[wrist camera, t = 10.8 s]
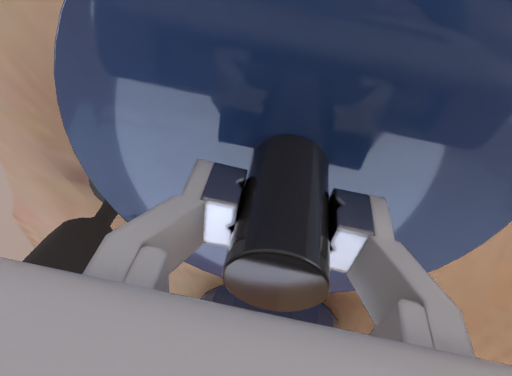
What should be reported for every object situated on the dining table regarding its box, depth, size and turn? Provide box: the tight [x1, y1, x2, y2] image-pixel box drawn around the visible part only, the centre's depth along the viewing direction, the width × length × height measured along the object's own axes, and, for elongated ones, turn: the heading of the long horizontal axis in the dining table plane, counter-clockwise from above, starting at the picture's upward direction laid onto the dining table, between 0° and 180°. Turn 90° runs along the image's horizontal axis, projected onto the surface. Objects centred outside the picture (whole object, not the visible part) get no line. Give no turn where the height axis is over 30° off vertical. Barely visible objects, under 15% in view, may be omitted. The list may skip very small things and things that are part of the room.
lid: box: [54, 0, 512, 312], centre depth 10 cm, size 16×16×6 cm
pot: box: [201, 285, 338, 328], centre depth 33 cm, size 15×20×8 cm
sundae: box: [22, 178, 118, 274], centre depth 20 cm, size 7×7×15 cm
